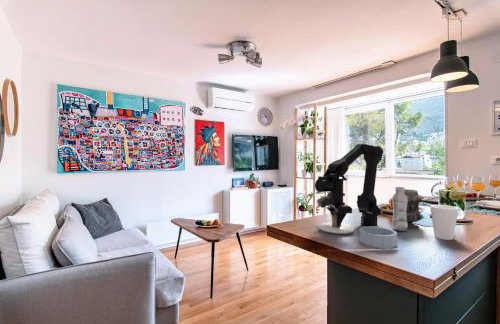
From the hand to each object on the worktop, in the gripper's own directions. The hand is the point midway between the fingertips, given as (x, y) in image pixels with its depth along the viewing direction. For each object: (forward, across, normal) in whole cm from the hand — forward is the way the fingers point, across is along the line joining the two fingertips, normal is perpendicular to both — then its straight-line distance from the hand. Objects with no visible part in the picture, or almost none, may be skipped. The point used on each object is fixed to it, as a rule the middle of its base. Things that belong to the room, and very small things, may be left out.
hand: (336, 224), depth 116 cm
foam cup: (+4, +11, +42) cm, 44 cm away
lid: (+2, 0, 0) cm, 2 cm away
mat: (+3, 0, 0) cm, 3 cm away
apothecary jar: (+4, -6, +38) cm, 39 cm away
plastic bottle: (+4, 0, +30) cm, 30 cm away
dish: (+3, +16, +10) cm, 19 cm away
